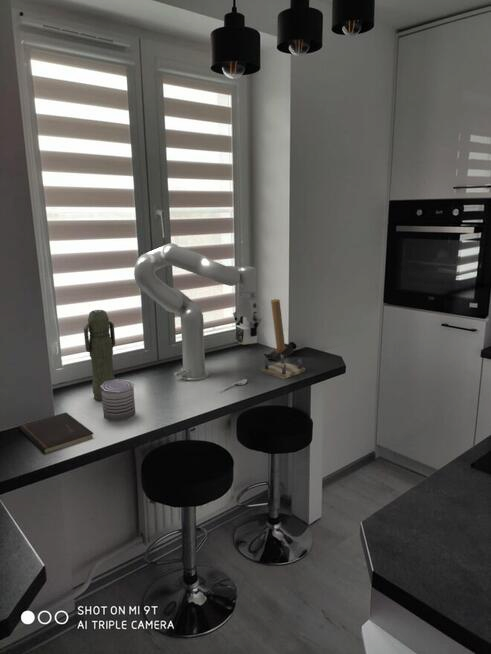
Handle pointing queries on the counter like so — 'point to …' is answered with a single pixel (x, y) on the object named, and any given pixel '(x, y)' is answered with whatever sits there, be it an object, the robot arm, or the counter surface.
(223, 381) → the counter surface
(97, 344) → the dark green tall piece
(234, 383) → the spoon
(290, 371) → the peg stand
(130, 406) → the can
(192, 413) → the counter surface
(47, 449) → the hardcover book
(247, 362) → the counter surface
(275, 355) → the hammer
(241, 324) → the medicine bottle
